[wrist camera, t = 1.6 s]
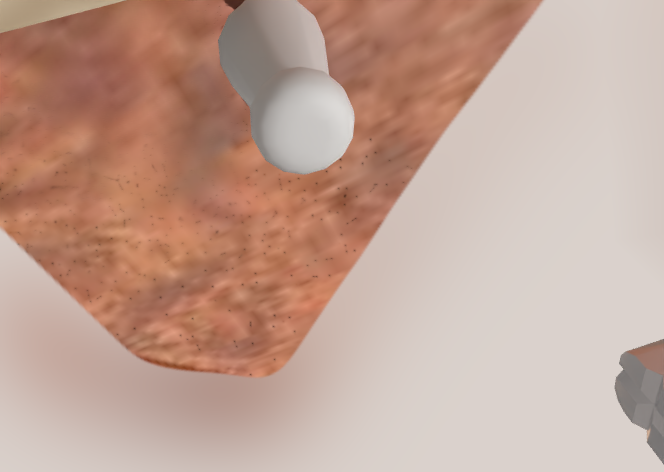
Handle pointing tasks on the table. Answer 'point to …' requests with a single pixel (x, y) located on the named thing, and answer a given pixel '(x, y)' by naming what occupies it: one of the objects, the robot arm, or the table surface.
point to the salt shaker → (286, 84)
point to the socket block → (42, 11)
